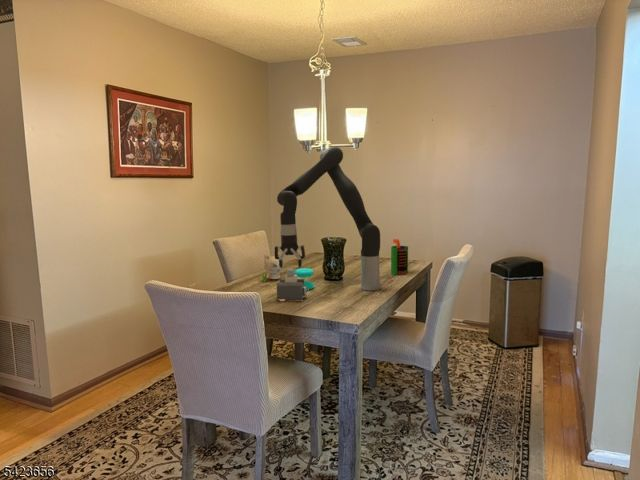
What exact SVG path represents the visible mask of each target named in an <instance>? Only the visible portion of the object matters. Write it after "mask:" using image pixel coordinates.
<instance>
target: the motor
mask: <svg viewBox="0 0 640 480" xmlns="http://www.w3.org/2000/svg"><path fill="white" fill-rule="evenodd" d="M392 243H393V244H395V245H393V246H391V247H390V274H391V275H392V276H405V275H407V274H408V273H409V246H407V245H401V243H400V240H399V238H394V239H392Z"/></svg>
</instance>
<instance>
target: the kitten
mask: <svg viewBox="0 0 640 480" xmlns="http://www.w3.org/2000/svg"><path fill="white" fill-rule="evenodd" d="M278 256H279V257H280V256H281V253H280V252H278ZM263 258H264V269H265V273H263V274H262V277H261V278H262V281H263V280H266V281H267V279H269V278H270V279H278V278H281V272H283V270H284V267H285V266H284V264H283V268H281V267H280V266H279V260H278V259H275V255H273V256H270V255H268V254H264V256H263ZM267 273H268V278H267ZM270 279H269V280H270Z"/></svg>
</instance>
